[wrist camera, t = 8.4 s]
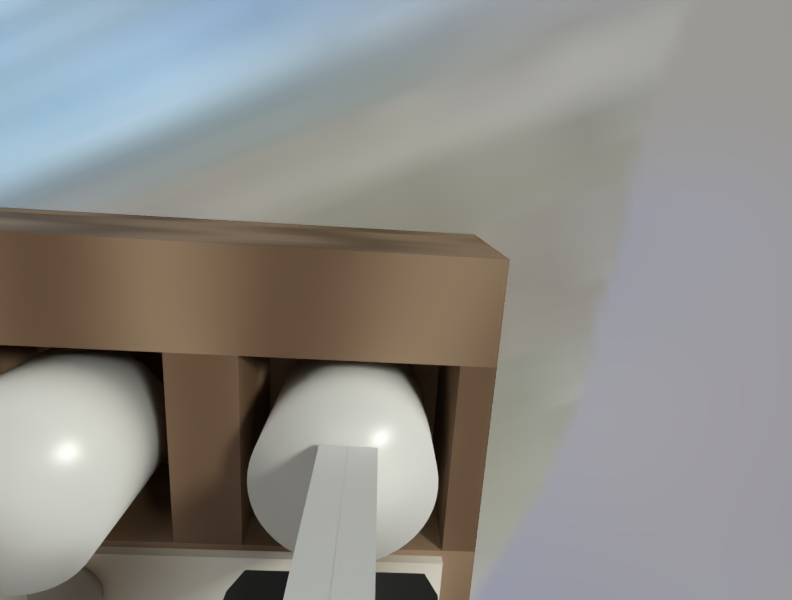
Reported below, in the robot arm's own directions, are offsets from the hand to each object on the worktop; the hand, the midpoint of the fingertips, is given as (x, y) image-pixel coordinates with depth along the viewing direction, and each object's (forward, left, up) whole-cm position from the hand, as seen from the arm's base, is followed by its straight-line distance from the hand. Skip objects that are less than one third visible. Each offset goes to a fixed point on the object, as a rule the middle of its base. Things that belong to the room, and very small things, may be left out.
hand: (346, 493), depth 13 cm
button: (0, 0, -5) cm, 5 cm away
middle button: (-8, 0, -3) cm, 9 cm away
